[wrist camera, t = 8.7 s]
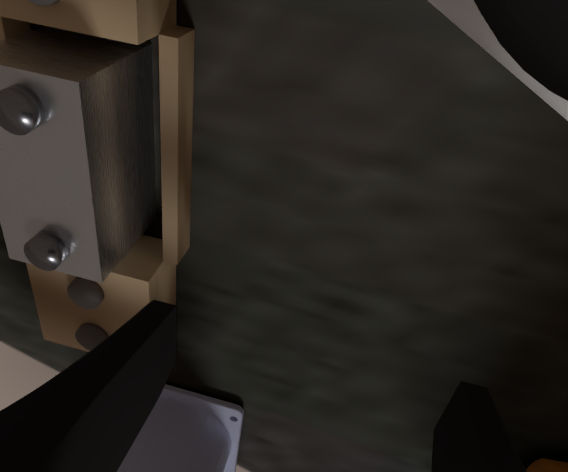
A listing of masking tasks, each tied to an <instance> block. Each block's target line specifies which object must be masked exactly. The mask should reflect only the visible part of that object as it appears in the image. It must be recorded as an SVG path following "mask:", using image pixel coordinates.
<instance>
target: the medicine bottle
mask: <svg viewBox="0 0 568 472" xmlns="http://www.w3.org/2000/svg"><path fill="white" fill-rule="evenodd" d="M427 1H429V2H430V3H431V4H432V5H433V6H434V7H436V8H437V9H438V10H439V11H440V12H441V13H443V14H444V15H445V16H446V17H447V18H448V19H450V20H451V21H452V22H453V23H454V24H455V25H457V26H458V27H459V28H460V29H461V30H462V31H464V32H465V33H466V34H467V35H468V36H469V37H470V38H472V39H473V40H474V41H475V42H476V43H477V44H479V45H480V46H481V47H482V48H483V49H484V50H486V51H487V52H488V53H489V54H490V55H491V56H493V57H494V58H495V59H496V60H497V61H498V62H500V63H501V64H502V65H503V66H504V67H505V68H507V69H508V70H509V71H510V72H511V73H512V74H514V75H515V76H516V77H517V78H518V79H519V80H521V81H522V82H523V83H524V84H525V85H526V86H528V87H529V88H530V89H531V90H532V91H533V92H535V93H536V94H537V95H538V96H539V97H540V98H542V99H543V100H544V101H545V102H546V103H547V104H549V105H550V106H551V107H552V108H553V109H554V110H556V111H557V112H558V113H559V114H560V115H561V116H563V117H564V118H565V119H566V120H567V121H568V0H427Z"/></svg>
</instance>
